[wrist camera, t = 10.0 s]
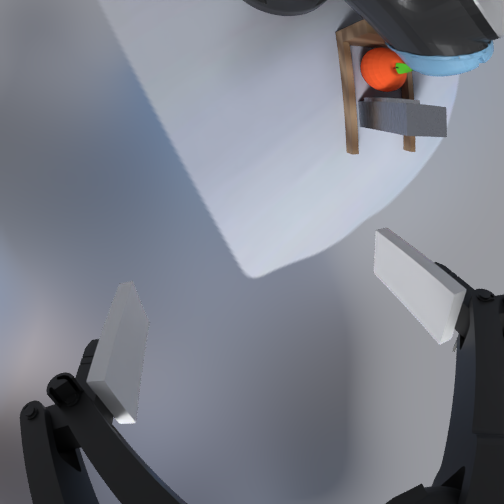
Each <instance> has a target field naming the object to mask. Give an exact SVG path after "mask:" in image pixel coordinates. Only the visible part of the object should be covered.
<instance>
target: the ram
mask: <svg viewBox="0 0 504 504" xmlns="http://www.w3.org/2000/svg"><path fill="white" fill-rule="evenodd" d="M359 115H360V127H365V128H370V129H376V130H381V131H386V132H391V133H396V134H400V135H405V136H431V137H447V136H446V135H447V123H446V107H439V106H431V105H421V104H420V100H410V99H398V98H364V101H359Z"/></svg>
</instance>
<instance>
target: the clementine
mask: <svg viewBox="0 0 504 504" xmlns="http://www.w3.org/2000/svg"><path fill="white" fill-rule="evenodd" d="M360 68H361V73H362V76H363V78H364V79H365V81H366V82H367V83H368V84H369V85H370V86H371V87H373V88H374V89H376V90H379V91H383V92H390V91H395V90H397V89H399V88H400V87H401V86H402V85H403V84H404V83H405V80H406V77H407V73H408V72H411V71H413V70H412V69H411V68H410V67H408V66H407V65H406V64H405V63H404V61H403V60H402V59H401V58H400V57H399V56H398V55H397V54H396V52H394V51H392V50H390V49H388V48H374V49H372V50H370V51H368V52H367V53H366V54H365V55H364V56H363V58H362V61H361V65H360Z"/></svg>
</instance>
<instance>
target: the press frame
mask: <svg viewBox="0 0 504 504" xmlns="http://www.w3.org/2000/svg"><path fill="white" fill-rule="evenodd" d="M335 33H336V40H337V47H338V54H339V62H340V71H341V80H342V90H343V101H344V113H345V128H346V146H347V153H350V154H359V150H358V128H357V112H356V99H355V87H354V77H353V68H352V60H351V52H350V45H352V46H362V47H371V48H388V49H390V48H389V47H388V46H387V45H386V44H385V41H384V40H383V39H382V38H381V36H380V35H379V34H378V33H377V32H376V31H375V30H374V29H373V28H372V27H371V26H370V25H369V24H368V23H367V22H366V21H365V20H364V19H363V20H361V21H359V22H356V23H354V24H352V25H350V26H348V27H346V28H344V29H342V30H339V31H337V32H335ZM390 50H391V49H390ZM404 63H405V62H404ZM401 91H402V99H410V100H414V92H413V80H412V71H411V72H408V73H407V77H406V80H405V83H404V84H403V85H402V86H401ZM404 150H407V151H410V152H415V136H405V135H404Z"/></svg>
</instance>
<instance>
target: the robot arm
mask: <svg viewBox="0 0 504 504" xmlns="http://www.w3.org/2000/svg"><path fill="white" fill-rule="evenodd" d="M243 1H245V2H246V3H247V4H249V5H251V6H252V7H254V8H256V9H259V10H261V11H264V12H267V13H270V14H275V15H282V16H295V15H301V14H305V13H308V12H311V11H313V10H315V9H316V8H318V7H319V6H320V5H322V4H323V3H324V2H325V1H327V0H243ZM345 1H346V2H347V3H348V4H349V5H350V6H351V7H352V8H353V9H354V10H355V11H356V12H357V13H358V14H359V15H360V16H361V17H362V18H363V19H364V20H365V21H366V22H367V23H368V24H369V25H370V26H371V27H372V28H373V29H374V30H375V31H376V32H377V33H378V34H379V35H380V36H381V38H382V39H383V40H384V41H385V44H386V45H387V46H388V47H389V48H390V49H391V50H393V51H394V52H396V54H397V55H398V56H399V57H400V58H401V59H402V60H403V61H404V62H405V64H406V65H407V66H408V67H410V68H411V69H412V70H414V71H417V72H419V73H421V74H424V75H429V76H451V75H457V74H461V73H464V72H468V71H471V70H473V69H475V68H477V67H479V63H485V62H486V61H488V60H489V59H490V57H491V56H492V54H493V51H494V46H493V40H495V39H498V38H501V37H503V35H504V0H345ZM375 239H376V240H375V258H374V274H375V275H376V276H377V277H378V278H379V279H380V280H381V281H382V282H383V283H384V284H385V285H386V286H387V287H388V288H389V289H390V291H391V292H393V294H394V295H395V296H396V297H397V298H398V299H399V300H400V301H401V302H402V303H403V304H404V305H405V306H406V308H407V309H408V310H409V311H410V312H411V313H412V314H413V315H414V317H415V318H416V319H417V320H418V321H419V322H420V323H421V324H422V325H423V327H424V328H425V329H426V330H427V331H428V332H429V333H430V334H431V336H432V337H433V338H434V339H435V340H436V341H437V343H438V344H439V345H440V344H442V343H444V342H446V341H448V340H450V339H451V338H452V335H453V332H454V329H456V331H458V333H459V335H458V338H457V340H456V343H455V345H454V348H453V351H454V352H455V349H456V348H457V356H456V375H455V385H454V396H453V404H452V411H451V418H450V425H449V431H448V436H447V442H446V447H445V451H444V456H443V461H442V464H441V467H440V470H439V472H438V473H437V475H436V477H435V479H434V482H433V484H432V486H431V487H425V488H424V487H423V485H422V484H420V485H418V486H416V487H414V488H412V489H410V490H409V491H407V492H404V493H402V494H400V495H398V496H396V497H394V498H393V499H392V500H390V501H389V502H387V503H386V504H504V295H498V296H495V295H494V294H493V293H492V292H490V291H488V290H485V289H476V290H474V289H473V288H472V287H470V286H469V285H468V284H467V283H466V282H464V281H463V280H462V279H461V278H459V277H457V275H456V274H455V273H453V272H451V270H449V269H448V268H447V267H446V266H444V265H442V264H439V263H437V262H435V263H434V262H432V261H431V260H430V259H428V258H427V257H426V256H424V255H423V254H422V253H421V252H419V251H418V250H417V249H415V248H414V247H413V246H411V245H410V244H409V243H407V242H406V241H405V240H403V239H402V238H401V237H399V236H397V235H396V234H395V233H394V232H392V231H391V230H389V229H388V228H383V229H378V230H376V237H375ZM148 329H149V320H148V318H147V315H146V313H145V311H144V308H143V306H142V303H141V301H140V298H139V296H138V293H137V291H136V288H135V286H134V283H133V281H130V282H125V283H120V284H119V286H118V289H117V291H116V294H115V296H114V299H113V302H112V304H111V307H110V310H109V313H108V315H107V318H106V321H105V324H104V327H103V330H102V333H101V336H100V339H96V340H92V341H91V342H90V343H89V344H88V346H87V347H86V348H85V351H84V354H83V358H82V360H81V363H80V364H81V365H80V366H79V369H78V372H77V375H76V378H74V376H73V375H71V374H70V373H61V374H58V375H56V376H55V377H54V378H53V379H52V380H51V381H50V382H49V384H48V386H47V395H48V396H49V397H50V398H51V399H52V400H53V401H54V403H55V405H51V406H48V407H44V406H43V405H42V404H41V403H40V402H39V401H32V402H29V403H27V404H26V405H25V406H24V407H23V409H22V411H21V414H20V426H21V436H22V446H23V453H24V460H25V466H26V473H27V477H28V483H29V488H30V493H31V497H32V500H33V504H99V502H98V500H97V497H96V495H95V492H94V490H93V487H92V484H91V481H90V479H89V476H88V473H87V470H86V467H85V464H84V461H83V458H82V455H81V452H80V449H79V448H80V447H81V448H82V449H83V451H84V452H85V454H86V455H87V457H88V458H89V460H90V461H91V463H92V464H93V466H94V467H95V469H96V470H97V472H98V473H99V475H100V476H101V477H102V479H103V480H104V481H105V483H106V484H107V486H108V487H109V488H110V490H111V491H112V492H113V493H114V495H115V496H116V497H117V498H118V500H119V501H120V502H121V503H122V504H187V503H186V502H185V501H184V500H183V499H181V498H180V497H179V496H178V495H177V494H176V493H175V492H174V491H173V490H172V489H171V488H170V487H169V486H168V485H167V484H165V483H164V482H163V481H162V480H161V479H160V478H159V477H158V476H157V475H156V473H154V471H153V470H152V469H151V468H150V467H149V466H148V465H147V464H146V463H145V462H144V461H143V460H142V459H141V458H140V456H139V455H138V454H137V453H136V452H135V451H134V450H133V449H132V448H131V446H130V445H129V444H128V443H127V442H126V440H125V439H124V438H123V437H122V435H121V434H120V433H119V432H118V431H117V429H116V428H115V427H114V426H113V425H112V421H113V416H114V418H115V419H116V420H117V421H118V422H119V423H120V424H125V423H136V420H137V410H138V400H139V392H140V384H141V376H142V367H143V361H144V354H145V348H146V341H147V335H148Z"/></svg>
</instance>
